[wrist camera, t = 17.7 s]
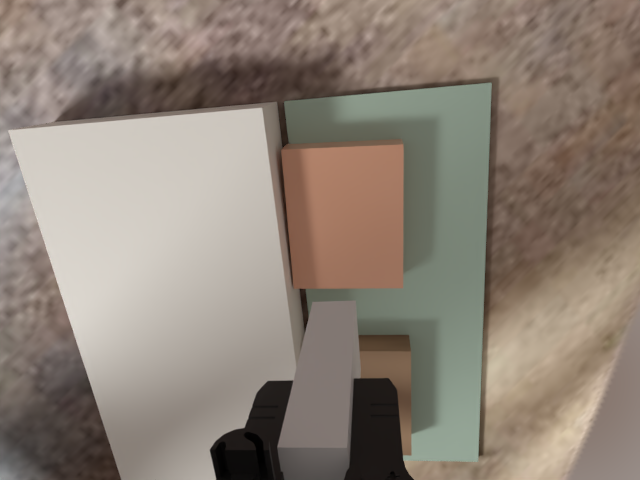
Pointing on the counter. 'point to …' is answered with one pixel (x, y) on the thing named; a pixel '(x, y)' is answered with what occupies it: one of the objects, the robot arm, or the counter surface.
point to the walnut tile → (391, 373)
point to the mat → (425, 247)
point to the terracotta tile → (345, 213)
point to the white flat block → (170, 271)
